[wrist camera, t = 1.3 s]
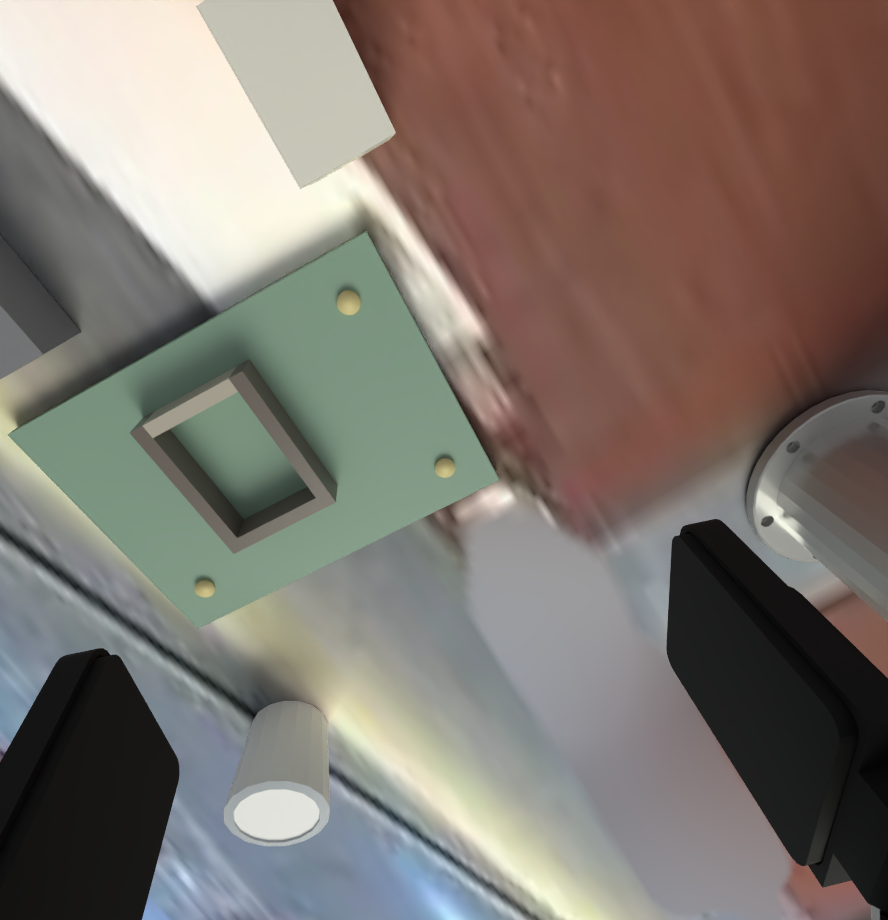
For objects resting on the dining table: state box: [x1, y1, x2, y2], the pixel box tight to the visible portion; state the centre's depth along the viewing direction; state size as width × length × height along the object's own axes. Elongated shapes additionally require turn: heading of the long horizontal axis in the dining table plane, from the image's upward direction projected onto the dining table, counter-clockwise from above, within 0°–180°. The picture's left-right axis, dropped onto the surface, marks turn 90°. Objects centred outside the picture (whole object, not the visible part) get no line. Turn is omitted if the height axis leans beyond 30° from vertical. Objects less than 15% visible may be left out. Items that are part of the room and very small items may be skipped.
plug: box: [196, 0, 396, 189], centre depth 24 cm, size 4×6×8 cm, turn 27°
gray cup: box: [224, 701, 330, 846], centre depth 42 cm, size 7×7×7 cm
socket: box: [130, 359, 338, 554], centre depth 33 cm, size 7×9×2 cm
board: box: [8, 230, 499, 629], centre depth 34 cm, size 22×16×1 cm
